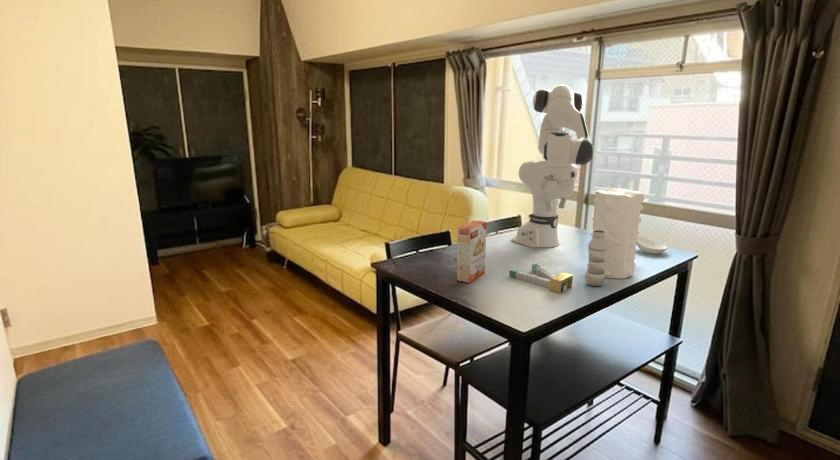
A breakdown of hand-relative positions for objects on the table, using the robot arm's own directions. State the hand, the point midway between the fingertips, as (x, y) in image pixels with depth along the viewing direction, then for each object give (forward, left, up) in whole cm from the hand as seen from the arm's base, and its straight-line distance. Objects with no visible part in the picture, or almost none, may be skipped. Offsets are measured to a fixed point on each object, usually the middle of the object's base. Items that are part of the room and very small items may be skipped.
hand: (555, 209), depth 178 cm
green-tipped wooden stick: (+5, -18, -24) cm, 31 cm away
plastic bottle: (+21, -5, -24) cm, 32 cm away
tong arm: (+4, -12, -24) cm, 27 cm away
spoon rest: (+14, +49, -24) cm, 56 cm away
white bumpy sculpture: (+19, +12, -24) cm, 33 cm away
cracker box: (-16, -30, -24) cm, 42 cm away
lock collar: (+14, -17, -24) cm, 33 cm away
